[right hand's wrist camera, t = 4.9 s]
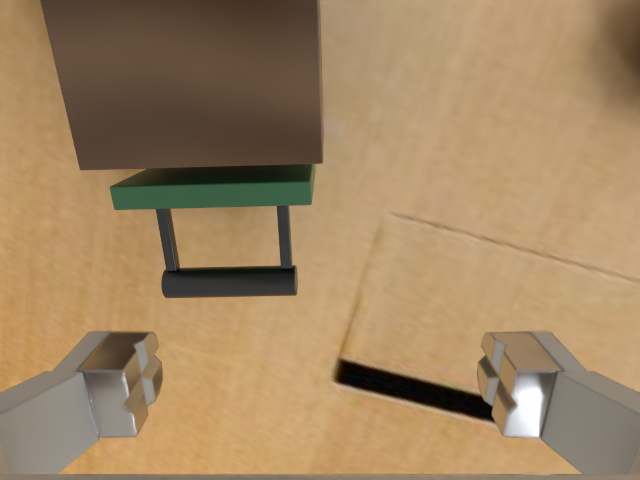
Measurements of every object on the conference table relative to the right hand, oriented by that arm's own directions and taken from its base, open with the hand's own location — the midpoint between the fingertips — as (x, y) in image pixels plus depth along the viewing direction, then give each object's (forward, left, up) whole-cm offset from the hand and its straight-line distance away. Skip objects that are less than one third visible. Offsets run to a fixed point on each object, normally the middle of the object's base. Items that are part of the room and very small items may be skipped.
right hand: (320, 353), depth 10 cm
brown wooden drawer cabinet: (+11, +4, -20) cm, 22 cm away
